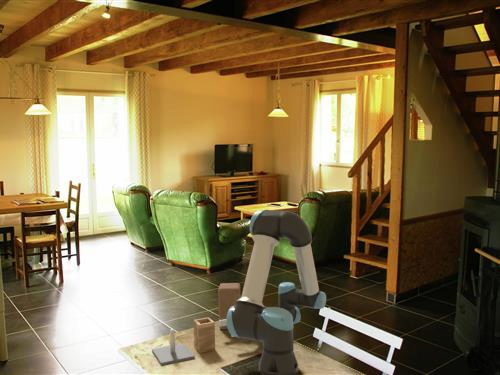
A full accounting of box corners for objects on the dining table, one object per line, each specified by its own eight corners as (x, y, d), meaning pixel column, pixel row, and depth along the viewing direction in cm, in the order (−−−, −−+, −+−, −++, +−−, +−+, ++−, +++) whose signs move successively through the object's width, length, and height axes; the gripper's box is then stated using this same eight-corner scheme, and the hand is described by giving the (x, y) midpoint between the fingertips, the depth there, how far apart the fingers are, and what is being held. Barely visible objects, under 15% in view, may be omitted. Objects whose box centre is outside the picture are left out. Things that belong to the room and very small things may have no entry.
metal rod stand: (194, 358, 197) (194, 332, 196) (161, 365, 191) (160, 338, 190) (183, 345, 211) (182, 320, 210) (151, 351, 205) (151, 326, 204)
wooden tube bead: (215, 349, 205) (214, 322, 204) (199, 352, 202) (198, 325, 201) (209, 343, 212) (208, 317, 211) (194, 346, 209) (193, 319, 208)
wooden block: (240, 329, 228) (239, 288, 226) (219, 330, 228) (218, 288, 226) (241, 322, 238) (240, 282, 236) (220, 322, 238) (219, 282, 236)
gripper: (281, 337, 209) (237, 347, 200) (256, 319, 231) (215, 327, 222) (281, 320, 208) (236, 329, 199) (256, 304, 231) (214, 311, 222)
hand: (225, 328), depth 211 cm, fingers open, 13 cm apart
